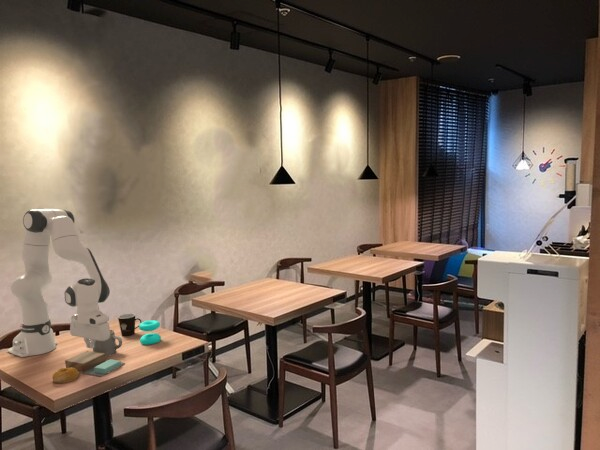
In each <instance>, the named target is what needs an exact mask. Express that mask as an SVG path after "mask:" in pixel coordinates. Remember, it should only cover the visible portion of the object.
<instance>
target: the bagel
mask: <svg viewBox="0 0 600 450" xmlns="http://www.w3.org/2000/svg"><path fill="white" fill-rule="evenodd" d="M79 373H80V372H78V370H77V369H75V368H73V367H70V368H66V367H64V368H62V367H61V368H60V369H58V370H56V371H54V372H53V374H52V382H53V383H55V384H56V383H58V384H66V383H70V382H72V381H75V380H76V379H77V378H78V376H79Z"/></svg>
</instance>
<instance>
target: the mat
mask: <svg viewBox="0 0 600 450" xmlns="http://www.w3.org/2000/svg"><path fill="white" fill-rule="evenodd" d="M125 364H126V363H125V362H121V366H119V367H117V368H115V369H113V370H111V371H109V372H107V373H105V374H104V373H99V372H94V367H93V368H91V369H89V370H87V371H85V372H82V375H89V376H93V377H97V378H98V377H99V378H101V377H103V376H105V375H107V374H108V373H111V372H113V371H114V370H117V369H118V368H120V367H122V366H124V365H125ZM99 365H100V364H99ZM97 366H98V365H97ZM95 367H96V366H95Z"/></svg>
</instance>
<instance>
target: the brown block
mask: <svg viewBox="0 0 600 450" xmlns="http://www.w3.org/2000/svg"><path fill="white" fill-rule="evenodd" d="M106 361H107V357H106V353H99V352H93V350H85V351H84V352H80V354H77V355H75V356H72V357H70V358H68V359H66V360H64V363H65V368H70V367H73V368H75V369H77V370H78V372H79V373H83V372H85V371H87V370H89V369H91V368H93V367H95V366H97V365H99V364H102V363H104V362H106Z"/></svg>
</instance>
